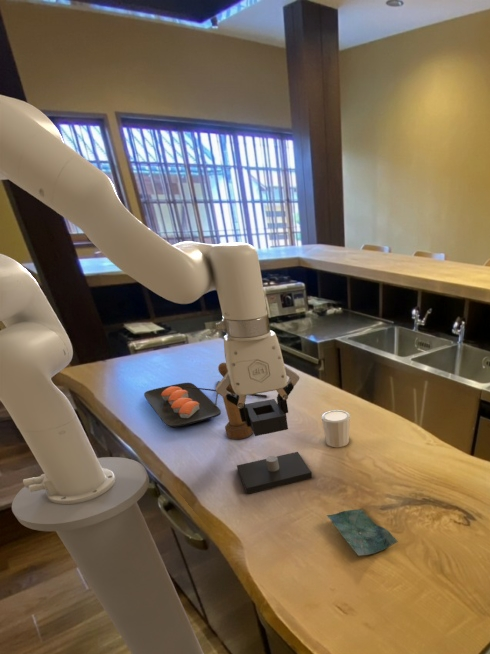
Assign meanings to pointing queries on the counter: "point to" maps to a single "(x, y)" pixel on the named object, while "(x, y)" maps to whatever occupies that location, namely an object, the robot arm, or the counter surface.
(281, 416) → the black block with hole
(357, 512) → the nori seaweed sheet
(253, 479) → the base pad
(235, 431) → the wooden pepper mill
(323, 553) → the counter surface
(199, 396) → the sushi plate
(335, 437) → the white cup
